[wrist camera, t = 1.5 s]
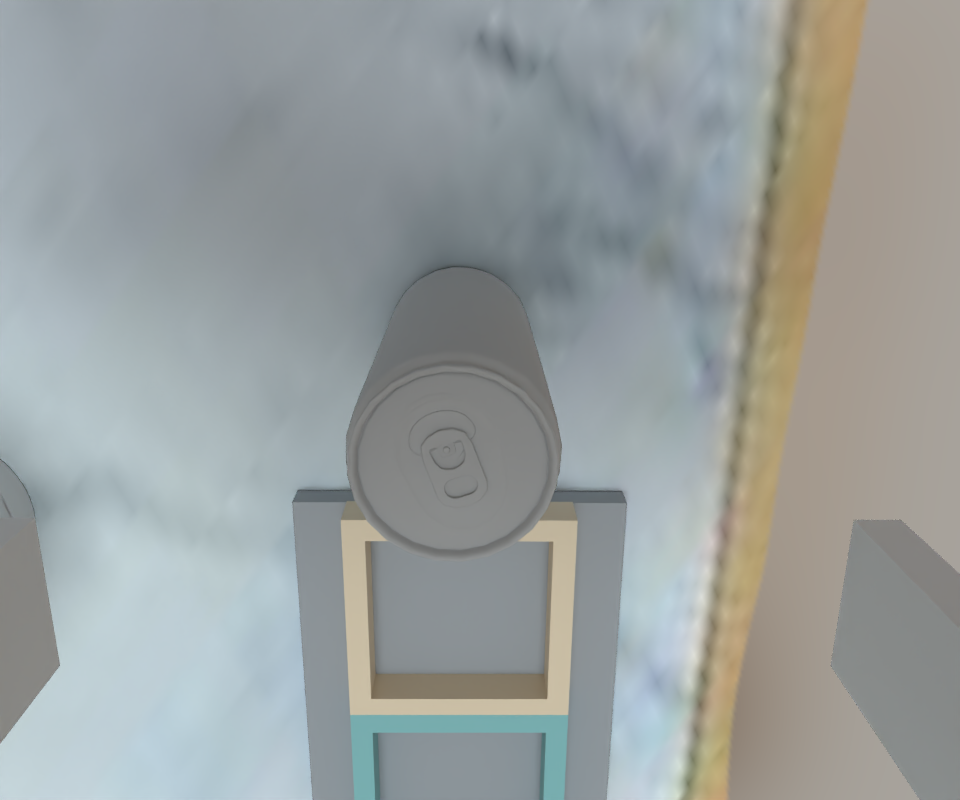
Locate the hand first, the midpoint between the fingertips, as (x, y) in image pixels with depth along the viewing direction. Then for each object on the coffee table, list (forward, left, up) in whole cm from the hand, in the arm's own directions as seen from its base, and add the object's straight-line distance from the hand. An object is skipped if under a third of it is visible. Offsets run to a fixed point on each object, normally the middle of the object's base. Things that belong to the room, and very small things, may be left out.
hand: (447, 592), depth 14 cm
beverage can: (0, 0, -17) cm, 17 cm away
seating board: (+14, 0, -17) cm, 22 cm away
